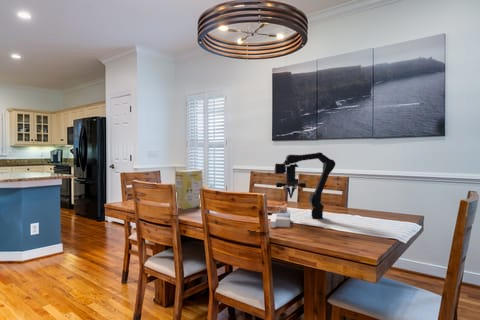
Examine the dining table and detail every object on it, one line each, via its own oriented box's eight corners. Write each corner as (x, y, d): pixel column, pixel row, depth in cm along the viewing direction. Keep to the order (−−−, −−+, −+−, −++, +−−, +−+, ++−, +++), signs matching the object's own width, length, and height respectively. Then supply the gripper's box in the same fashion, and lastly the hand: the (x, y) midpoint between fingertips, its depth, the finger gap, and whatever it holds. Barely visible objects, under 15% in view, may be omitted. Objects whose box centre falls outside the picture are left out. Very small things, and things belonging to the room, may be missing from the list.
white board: (277, 219, 200) (277, 213, 200) (275, 227, 178) (275, 221, 178) (272, 218, 201) (272, 213, 200) (270, 227, 179) (270, 221, 179)
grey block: (289, 224, 188) (289, 216, 188) (289, 227, 180) (289, 219, 180) (276, 223, 189) (276, 216, 189) (275, 226, 181) (275, 219, 181)
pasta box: (194, 204, 254) (193, 169, 253) (202, 206, 247) (202, 170, 246) (175, 207, 240) (175, 171, 239) (184, 209, 233) (183, 171, 232)
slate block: (290, 220, 197) (290, 213, 197) (289, 223, 190) (289, 216, 189) (277, 220, 199) (277, 212, 199) (276, 222, 191) (276, 215, 191)
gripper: (276, 175, 195) (276, 200, 196) (306, 175, 193) (306, 200, 194) (276, 173, 206) (276, 197, 207) (305, 173, 204) (305, 197, 205)
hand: (290, 198), depth 203 cm, fingers closed
